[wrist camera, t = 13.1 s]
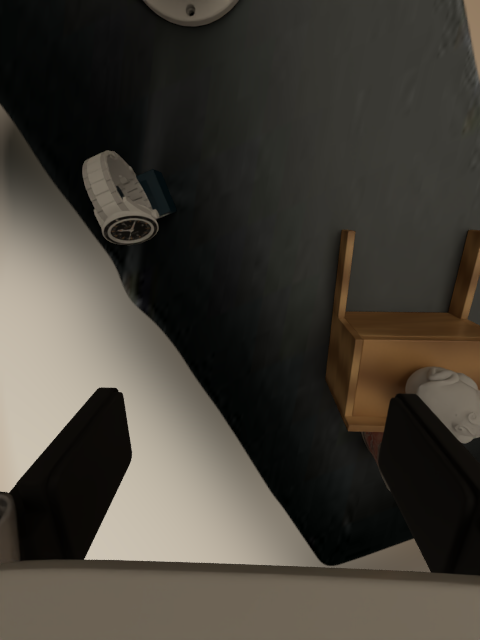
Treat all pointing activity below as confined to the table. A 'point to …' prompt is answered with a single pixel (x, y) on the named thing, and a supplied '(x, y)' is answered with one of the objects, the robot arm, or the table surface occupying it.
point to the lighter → (374, 445)
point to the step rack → (397, 343)
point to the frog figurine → (449, 399)
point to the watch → (126, 198)
